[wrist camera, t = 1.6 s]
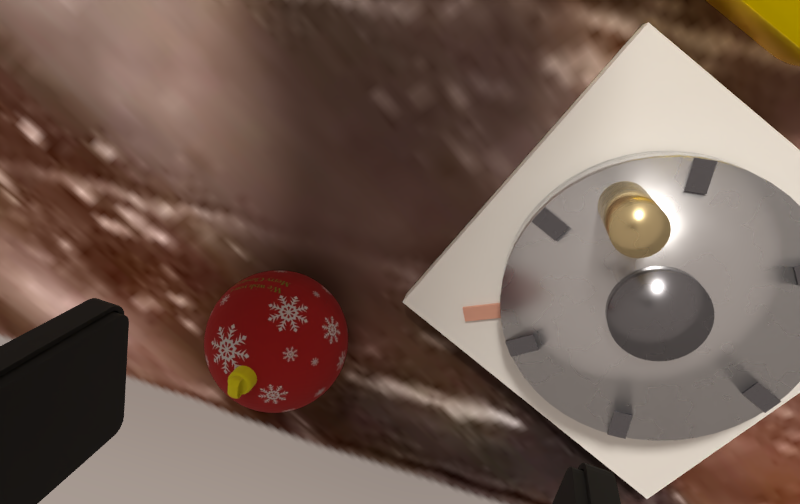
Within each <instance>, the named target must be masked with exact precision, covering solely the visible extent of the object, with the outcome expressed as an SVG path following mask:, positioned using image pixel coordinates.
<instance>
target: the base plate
mask: <svg viewBox="0 0 800 504" xmlns="http://www.w3.org/2000/svg"><path fill="white" fill-rule="evenodd" d="M667 150H673V151H685V152H695V153H699V154H704V155H708V156H713V157H717V158H720V159H722V160H725V161H728V162H731V163H733V164H736V165H738V166H740V167H742V168H744V169H746V170H748V171H750V172H752V173H754V174H756V175H757V176H759V177H761V178H763V179H765V180H767V181H769V182H771V183H772V184H774V185H775V186H777V187H778V188H779V189H781V190H782V191H784V192H785V193H786V194H788V195H789V196H790V197H791V198H792V199H793V200H794V201H795V202H796V203H797V204H798V205H799V206H800V150H799V149H798V148H797V147H795V146H794V145H793V144H792V143H791V142H789V141H788V140H787V139H786V138H785V137H784V136H782V135H781V134H780V133H779V132H778V131H776V130H775V129H774V128H773V127H772V126H771V125H769V124H768V123H767V122H766V121H765V120H763V119H762V118H761V117H760V116H759V115H758V114H756V113H755V112H754V111H753V110H752V109H750V108H749V107H748V106H747V105H746V104H744V103H743V102H742V101H741V100H740V99H739V98H737V97H736V96H735V95H734V94H733V93H731V92H730V91H729V90H728V89H727V88H726V87H724V86H723V85H722V84H721V83H720V82H718V81H717V80H716V79H715V78H714V77H713V76H711V75H710V74H709V73H708V72H707V71H705V70H704V69H703V68H702V67H701V66H700V65H698V64H697V63H696V62H695V61H694V60H692V59H691V58H690V57H689V56H688V55H687V54H685V53H684V52H683V51H682V50H681V49H679V48H678V47H677V46H676V45H675V44H674V43H672V42H671V41H670V40H669V39H668V38H666V37H665V36H664V35H663V34H662V33H660V32H659V31H658V30H657V29H656V28H655V27H653V26H652V25H651V24H650V23H649V22H648V23H645V24H642V26H641V27H640V28H639V29H638V30H637V31H636V32H635V34H634V35H633V36H632V37H631V38H630V39H629V40H628V42H627V43H626V44H625V45H624V46H623V47H622V48H621V50H620V51H619V52H618V53H617V54H616V55H615V56H614V58H613V59H612V60H611V61H610V62H609V63H608V64H607V65H606V67H605V68H604V69H603V70H602V71H601V72H600V73H599V75H598V76H597V77H596V78H595V79H594V80H593V81H592V83H591V84H590V85H589V86H588V87H587V88H586V89H585V91H584V92H583V93H582V94H581V95H580V96H579V97H578V99H577V100H576V101H575V102H574V103H573V104H572V105H571V107H570V108H569V109H568V110H567V111H566V112H565V113H564V115H563V116H562V117H561V118H560V119H559V120H558V121H557V123H556V124H555V125H554V126H553V127H552V128H551V129H550V130H549V132H548V133H547V134H546V135H545V136H544V137H543V138H542V140H541V141H540V142H539V143H538V144H537V145H536V146H535V148H534V149H533V150H532V151H531V152H530V153H529V154H528V156H527V157H526V158H525V159H524V160H523V161H522V162H521V164H520V165H519V166H518V167H517V168H516V169H515V170H514V172H513V173H512V174H511V175H510V176H509V177H508V178H507V180H506V181H505V182H504V183H503V184H502V185H501V186H500V188H499V189H498V190H497V191H496V192H495V193H494V194H493V196H492V197H491V198H490V199H489V200H488V201H487V202H486V203H485V205H484V206H483V207H482V208H481V209H480V210H479V211H478V213H477V214H476V215H475V216H474V217H473V218H472V219H471V221H470V222H469V223H468V224H467V225H466V226H465V227H464V229H463V230H462V231H461V232H460V233H459V234H458V235H457V237H456V238H455V239H454V240H453V241H452V242H451V243H450V245H449V246H448V247H447V248H446V249H445V250H444V251H443V253H442V254H441V255H440V256H439V257H438V258H437V259H436V261H435V262H434V263H433V264H432V265H431V266H430V267H429V268H428V270H427V271H426V272H425V273H424V274H423V275H422V276H421V278H420V279H419V280H418V281H417V282H416V283H415V284H414V286H413V287H412V288H411V289H410V290H409V291H408V292H407V294H406V296H405V298H404V300H403V303H404V304H405V305H407V306H408V307H409V308H410V309H412V310H413V311H414V312H415V313H417V314H418V315H419V316H420V317H421V318H423V319H424V320H425V321H426V322H428V323H429V324H430V325H431V326H433V327H434V328H435V329H436V330H438V331H439V332H440V333H441V334H443V335H444V336H445V337H446V338H448V339H449V340H450V341H451V342H453V343H454V344H455V345H456V346H458V347H459V348H460V349H461V350H462V351H464V352H465V353H466V354H467V355H469V356H470V357H471V358H472V359H474V360H475V361H476V362H477V363H479V364H480V365H481V366H482V367H484V368H485V369H486V370H487V371H489V372H490V373H491V374H492V375H494V376H495V377H496V378H497V379H499V380H500V381H501V382H502V383H503V384H505V385H506V386H507V387H508V388H510V389H511V390H512V391H513V392H515V393H516V394H517V395H518V396H520V397H521V398H522V399H523V400H525V401H526V402H527V403H528V404H530V405H531V406H532V407H533V408H535V409H536V410H537V411H538V412H540V413H541V414H542V415H543V416H544V417H546V418H547V419H548V420H549V421H551V422H552V423H553V424H554V425H556V426H557V427H558V428H559V429H561V430H562V431H563V432H564V433H566V434H567V435H568V436H569V437H571V438H572V439H573V440H574V441H576V442H577V443H578V444H579V445H581V446H582V447H583V448H584V449H585V450H587V451H588V452H589V453H590V454H592V455H593V456H594V457H595V458H597V459H598V460H599V461H600V462H602V463H603V464H604V465H605V466H607V467H608V468H609V469H610V470H612V471H613V472H614V473H615V474H617V475H618V476H619V477H620V478H622V479H623V480H624V481H625V482H626V483H628V484H629V485H630V486H631V487H633V488H634V489H635V490H636V491H638V492H639V493H640V494H641V495H643V496H644V497H645V498H646V499H648V498H649V497H651V496H652V495H654V494H655V493H656V492H658V491H659V490H661V489H662V488H664V487H665V486H667V485H668V484H669V483H671V482H672V481H674V480H675V479H677V478H678V477H679V476H681V475H682V474H684V473H685V472H687V471H688V470H689V469H691V468H692V467H694V466H695V465H697V464H698V463H700V462H701V461H702V460H704V459H705V458H707V457H708V456H710V455H711V454H712V453H714V452H715V451H717V450H718V449H720V448H721V447H722V446H724V445H725V444H727V443H728V442H730V441H731V440H732V439H734V438H735V437H737V436H738V435H740V434H741V433H743V432H744V431H745V430H747V429H748V428H750V427H751V426H753V425H754V424H755V423H757V422H758V421H760V420H761V419H763V418H764V417H765V416H767V415H768V414H770V413H771V412H773V411H774V410H776V409H777V408H778V407H780V406H781V405H783V404H784V403H786V402H787V401H788V400H790V399H791V398H793V397H794V396H796V395H797V394H798V393H800V382H799V383H798V384H797V385H796V386H795V387H794V388H793V389H792V390H791V391H790V393H789V394H787V395H786V396H785V397H783V398H782V399H781V400H780V401H781V402H780V403H779V404H777V405H776V406H774V407H773V408H772V409H770V410H769V411H767V412H766V413H764V412H762V413H761V414H759V415H758V416H756V417H754V418H752V419H750V420H748V421H746V422H744V423H742V424H739V425H737V426H735V427H732V428H729V429H726V430H723V431H721V432H718V433H714V434H710V435H705V436H701V437H697V438H690V439H682V440H666V441H652V440H639V439H632V438H626V439H624V438H619V437H615V436H611V435H607V433H605V432H602V431H598V430H596V429H593V428H591V427H589V426H586V425H584V424H581V423H579V422H577V421H576V420H574V419H572V418H570V417H568V416H567V415H565V414H563V413H562V412H560V411H559V410H558V409H556V408H555V407H553V406H552V405H550V404H549V403H548V402H547V401H546V400H545V399H544V398H543V397H541V396H540V395H539V394H538V393H537V392H536V391H535V390H534V389H533V387H532V386H531V385H530V384H529V383H528V382H527V380H526V379H525V378H524V376H523V375H522V373H521V372H520V370H519V369H518V367H517V366H516V364H515V362H514V360H513V358H512V357H511V356H510V353H509V350H508V348H507V345H506V343H505V341H506V340H505V337H504V334H503V329H502V322H501V316H500V295H501V288H502V280H503V273H504V266H505V263H506V259H507V256H508V252H509V250H510V247H511V245H512V243H513V240H514V238H515V236H516V234H517V232H518V231H519V229H520V227H521V226H522V224H523V223H524V221H525V219H526V218H527V217H528V216H529V214H530V213H531V212H532V211H533V209H534V208H535V207H536V206H537V204H539V203H540V202H541V201H542V200H543V199H544V198H545V197H546V196H547V195H548V194H549V193H550V192H551V191H552V190H554V189H555V188H556V187H558V186H559V185H560V184H562V183H563V182H565V181H566V180H567V179H569V178H571V177H572V176H574V175H576V174H578V173H579V172H581V171H583V170H585V169H587V168H589V167H591V166H594V165H596V164H599V163H601V162H604V161H606V160H609V159H613V158H617V157H620V156H624V155H627V154H634V153H640V152H647V151H667Z"/></svg>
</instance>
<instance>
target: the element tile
mask: <svg viewBox="0 0 800 504" xmlns="http://www.w3.org/2000/svg"><path fill="white" fill-rule="evenodd" d="M705 1H707V2H708V3H709V4H710V5H711V6H713V7H714V8H715V9H716V10H718V11H719V12H720V13H721V14H723V15H724V16H725V17H726V18H727V19H729V20H730V21H731V22H732V23H734V24H735V25H736V26H737V27H738V28H740V29H741V30H742V31H743V32H745V33H746V34H747V35H748V36H749V37H751V38H752V39H753V40H754V41H756V42H757V43H758V44H759V45H761V46H762V47H763V48H764V49H765V50H767V51H768V52H769V53H770V54H772V55H773V56H774V57H775V58H777V59H779V60H781V61H783V62H785V63H788V64H792V65H797V66H800V0H705Z"/></svg>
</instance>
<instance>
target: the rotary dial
mask: <svg viewBox="0 0 800 504" xmlns="http://www.w3.org/2000/svg"><path fill="white" fill-rule="evenodd" d="M500 316H501V322H502V329H503V334H504V337H505V340H506V341H505V343H506V345H507V348H508V350H509V353H510V356H511V357H512V358H513V360H514V362H515V364H516V366H517V367H518V369H519V370H520V372H521V373H522V375H523V376H524V378H525V379H526V380H527V382H528V383H529V384H530V385H531V386H532V387H533V389H534V390H535V391H536V392H537V393H538V394H539V395H540V396H541V397H543V398H544V399H545V400H546V401H547V402H548V403H549V404H550V405H552V406H553V407H555V408H556V409H558V410H559V411H560V412H562V413H563V414H565V415H567V416H568V417H570V418H572V419H574V420H576V421H577V422H579V423H581V424H584V425H586V426H589V427H591V428H593V429H596V430H598V431H602V432H605V433H607V435H611V436H615V437H619V438H624V439H626V438H632V439H639V440H652V441H666V440H682V439H690V438H697V437H701V436H705V435H710V434H714V433H718V432H721V431H723V430H726V429H729V428H732V427H735V426H737V425H739V424H742V423H744V422H746V421H748V420H750V419H752V418H754V417H756V416H758V415H759V414H761V413H762V412H764V413H766V412H767V411H769V410H770V409H772V408H773V407H774V406H776V405H777V404H779V403H780V402H781V401H780V400H781V399H782V398H783V397H785V396H786V395H787V394H789V393H790V391H791V390H792V389H793V388H794V387H795V386H796V385H797V384H798V383H799V382H800V206H799V205H798V204H797V203H796V202H795V201H794V200H793V199H792V198H791V197H790V196H789V195H788V194H786V193H785V192H784V191H782V190H781V189H779V188H778V187H777V186H775V185H774V184H772V183H771V182H769V181H767V180H765V179H763V178H761V177H759V176H757V175H756V174H754V173H752V172H750V171H748V170H746V169H744V168H742V167H740V166H738V165H736V164H733V163H731V162H728V161H725V160H722V159H720V158H717V157H713V156H708V155H704V154H699V153H695V152H685V151H673V150H667V151H647V152H640V153H634V154H627V155H624V156H620V157H617V158H613V159H609V160H606V161H604V162H601V163H599V164H596V165H594V166H591V167H589V168H587V169H585V170H583V171H581V172H579V173H578V174H576V175H574V176H572V177H571V178H569V179H567V180H566V181H565V182H563V183H562V184H560V185H559V186H558V187H556V188H555V189H554V190H552V191H551V192H550V193H549V194H548V195H547V196H546V197H545V198H544V199H543V200H542V201H541V202H540V203H539V204H537V206H536V207H535V208H534V209H533V211H532V212H531V213H530V214H529V216H528V217H527V218H526V219H525V221H524V223H523V224H522V226H521V227H520V229H519V231H518V232H517V234H516V236H515V238H514V240H513V243H512V245H511V247H510V250H509V252H508V256H507V259H506V263H505V266H504V273H503V280H502V288H501V295H500Z"/></svg>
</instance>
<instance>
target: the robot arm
mask: <svg viewBox="0 0 800 504" xmlns="http://www.w3.org/2000/svg"><path fill="white" fill-rule="evenodd" d="M128 327H129V321H128V318H127V316H125V315H124V311H123V309H122V308H121V307H120V306H118V305H115V304H112V303H109V302H106V301H103V300H100V299H96V298H92V299H89V300H87V301H85V302H83V303H82V304H80V305H78V306H76V307H74V308H72V309H70V310H68V311H66V312H64V313H63V314H61V315H59V316H57V317H55V318H53V319H51V320H49V321H47V322H46V323H44V324H42V325H40V326H38V327H36V328H34V329H32V330H30V331H29V332H27V333H25V334H23V335H21V336H19V337H17V338H15V339H13V340H11V341H10V342H8V343H6V344H4V345H2V346H0V504H37V503H39V502H40V501H41V500H42V499H43V498H44V497H45V496H47V495H48V494H49V493H50V492H51V491H52V490H53V489H54V488H56V487H57V486H58V485H59V484H60V483H61V482H62V481H63V480H65V479H66V478H67V477H68V476H69V475H70V474H71V473H72V472H74V471H75V470H76V469H77V468H78V467H79V466H80V465H81V464H83V463H84V462H85V461H86V460H87V459H88V458H89V457H91V456H92V455H93V454H94V453H95V452H96V451H97V450H98V449H100V447H102V446H103V445H104V444H105V443H106V442H107V441H109V439H111V438H112V437H113V436H114V435H115V434H116V433H117V432H118V430H119V429H120V427H121V425H122V422H123V418H124V403H125V383H126V365H127V346H128ZM552 504H621V502H620V497H619V493H618V488H617V483H616V478H615V475H614V474H613V473H612V472H610V471H607V470H604V469H601V468H598V467H595V466H592V465H589V464H586V463H581V465H580V466H579V467H578V469H576V468H573V467H569V468H568V469H567V471H566V473H565V476H564V478H563V480H562V483H561V485H560V487H559V490H558V492H557V494H556V496H555V499H554V501H553V503H552Z"/></svg>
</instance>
